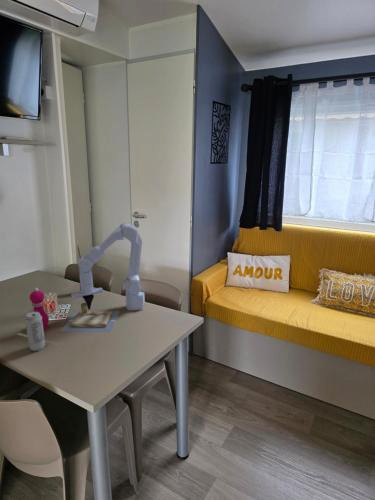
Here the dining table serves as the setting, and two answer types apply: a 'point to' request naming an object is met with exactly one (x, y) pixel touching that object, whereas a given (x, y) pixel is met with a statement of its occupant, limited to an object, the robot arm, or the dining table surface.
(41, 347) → the energy drink can
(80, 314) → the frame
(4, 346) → the dining table surface
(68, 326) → the board
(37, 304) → the pepper mill
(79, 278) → the butter churn
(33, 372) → the dining table surface
